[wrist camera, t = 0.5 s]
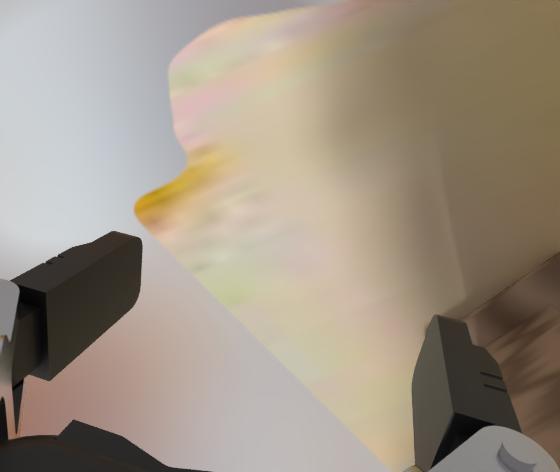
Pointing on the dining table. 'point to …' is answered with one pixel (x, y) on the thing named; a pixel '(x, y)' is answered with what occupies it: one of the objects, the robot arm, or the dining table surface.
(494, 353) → the stand
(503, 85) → the dining table surface
